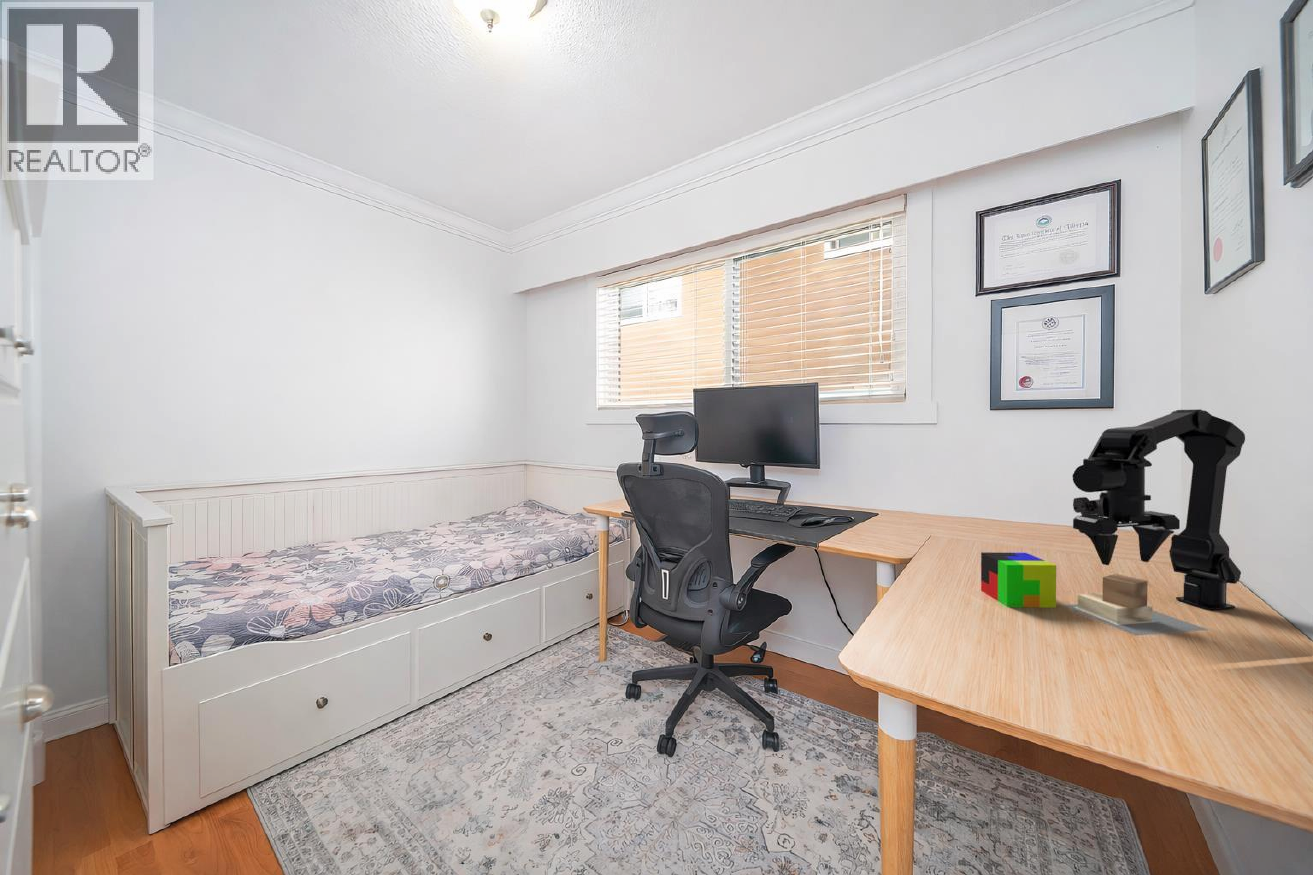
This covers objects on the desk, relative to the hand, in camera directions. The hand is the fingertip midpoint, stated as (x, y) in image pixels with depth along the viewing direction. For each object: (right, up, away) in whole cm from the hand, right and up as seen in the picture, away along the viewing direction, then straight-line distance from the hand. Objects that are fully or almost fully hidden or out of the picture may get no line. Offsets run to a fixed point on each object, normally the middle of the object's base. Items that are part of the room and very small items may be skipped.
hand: (1125, 563), depth 101 cm
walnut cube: (-2, -8, -2) cm, 8 cm away
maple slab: (-3, -11, 0) cm, 11 cm away
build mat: (0, -11, -1) cm, 11 cm away
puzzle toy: (-16, -12, +10) cm, 22 cm away
